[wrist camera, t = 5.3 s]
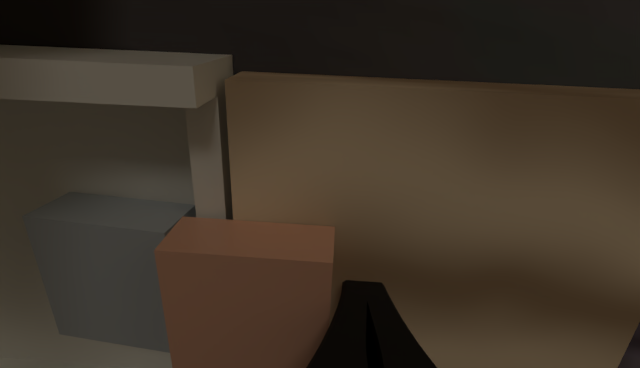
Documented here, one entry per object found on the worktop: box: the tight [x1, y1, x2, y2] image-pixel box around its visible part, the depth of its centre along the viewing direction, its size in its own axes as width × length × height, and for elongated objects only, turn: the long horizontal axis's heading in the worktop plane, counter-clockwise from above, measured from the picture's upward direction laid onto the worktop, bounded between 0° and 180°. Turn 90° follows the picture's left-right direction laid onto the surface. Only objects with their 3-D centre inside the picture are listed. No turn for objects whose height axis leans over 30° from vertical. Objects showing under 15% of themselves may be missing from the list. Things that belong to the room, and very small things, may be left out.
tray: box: [0, 45, 233, 368], centre depth 14 cm, size 15×13×4 cm
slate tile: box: [22, 192, 196, 353], centre depth 14 cm, size 5×5×2 cm
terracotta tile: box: [154, 216, 335, 368], centre depth 12 cm, size 5×5×2 cm
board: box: [225, 71, 640, 368], centre depth 14 cm, size 14×14×2 cm
